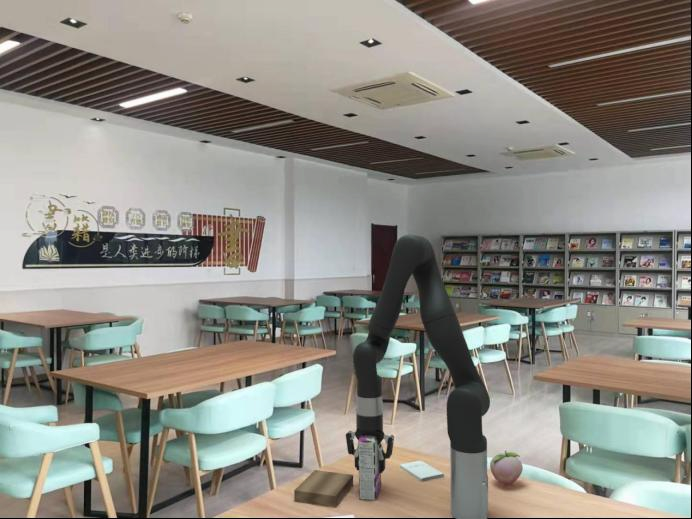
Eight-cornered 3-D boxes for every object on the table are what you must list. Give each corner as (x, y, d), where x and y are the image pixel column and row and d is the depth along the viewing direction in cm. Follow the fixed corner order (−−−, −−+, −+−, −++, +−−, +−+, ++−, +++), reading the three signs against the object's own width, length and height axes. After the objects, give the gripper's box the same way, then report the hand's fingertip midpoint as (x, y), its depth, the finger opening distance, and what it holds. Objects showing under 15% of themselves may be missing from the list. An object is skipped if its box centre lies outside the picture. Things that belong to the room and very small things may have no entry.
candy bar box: (364, 483, 159) (364, 427, 159) (381, 484, 158) (381, 428, 158) (357, 500, 148) (357, 440, 148) (375, 501, 147) (375, 441, 147)
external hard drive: (421, 483, 160) (399, 469, 171) (444, 478, 163) (421, 464, 174) (421, 478, 160) (399, 463, 171) (444, 473, 163) (421, 459, 174)
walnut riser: (353, 485, 157) (353, 474, 157) (335, 507, 143) (335, 496, 143) (315, 479, 161) (315, 469, 161) (294, 501, 147) (294, 490, 147)
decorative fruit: (506, 476, 163) (505, 443, 163) (527, 486, 156) (527, 451, 156) (483, 483, 158) (482, 449, 158) (504, 493, 151) (504, 457, 151)
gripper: (397, 410, 154) (397, 469, 154) (349, 405, 159) (350, 463, 159) (391, 417, 147) (391, 479, 147) (341, 412, 151) (341, 472, 151)
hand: (369, 470), depth 153 cm, fingers open, 6 cm apart
